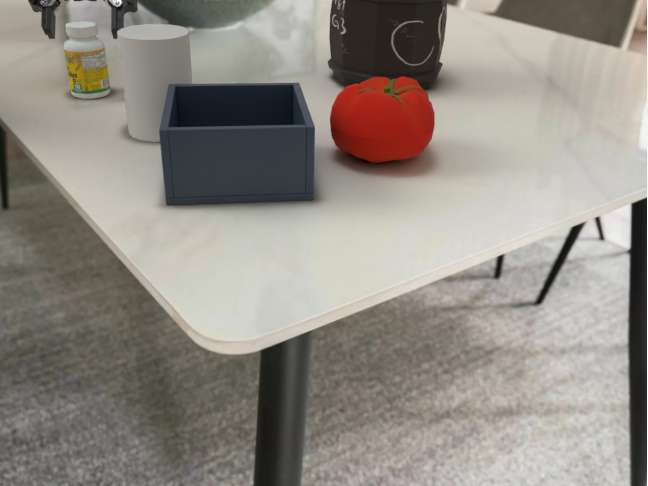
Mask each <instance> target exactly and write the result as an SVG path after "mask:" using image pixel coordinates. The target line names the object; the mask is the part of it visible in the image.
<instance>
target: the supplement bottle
mask: <svg viewBox="0 0 648 486" xmlns="http://www.w3.org/2000/svg"><path fill="white" fill-rule="evenodd" d="M64 25H65V33H66V36H67V37H69V38H67V39H66V40H65V41H64V43H63V52H64V58H65V59H64V60H65V65H66V70H67V77H68V83H69V89H70V93H71V95H72V96H73V97H74V98H77V99H85V100H94V99H99V98H104V97H106V96H108V95H109V94H110V92H111V82H110V76H109V69H108V62H107V61H108V60H107V53H106V46H105V43H104V41H103V39H101V38H99V37H97V36H98V32H99V31H98V26H97V23H96V22H94V21H87V20H86V21H85V20H84V21H83V20H82V21H81V20H80V21H70V22H67V23H66V24H64Z"/></svg>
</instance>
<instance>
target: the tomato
mask: <svg viewBox="0 0 648 486" xmlns="http://www.w3.org/2000/svg"><path fill="white" fill-rule="evenodd" d="M428 93H429V92H427V91H426V90H423V89H422V88H421V87H420V85H419V84H418V82H417V81H416V80H414V79H411V78H408V77H404V76H401V77H399V78H397V79H392V80H390V79H389V78H385V77H374V78H370V79H368V80H366V81H364V82H361V83H360V84H358V83H357V84H353V85H349V86H346V87H345V86H344V87H343V89H342V90H341V91H340V92H339V93H338V94H337V95H336V96H335V99H334V102H333V103H332V105H331V110H330V116H329V125H330V136H331V139H332V140H333V144H334V145H335V146H336V147H337V148H338V149H339V150H340V151H342V152H344V153H347V154H348V155H352V156H354V157H355V158H358V159H361V160H365V161H367V162H369V163H372V164H377V163H378V164H379V163H386V162H391V161H399V162H400V161H405V160H409V159H412V158H414V157H416V156H419V155H420V154H421V153H423V152H424V151H425V150H426V148H427V147H428V146H429V145H430V142H431V141H432V139H433V135H434V131H435V126H436V124H435V123H436V122H435V109H434V107H433V104H432V102H431V100H430V98H429V94H428Z"/></svg>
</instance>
